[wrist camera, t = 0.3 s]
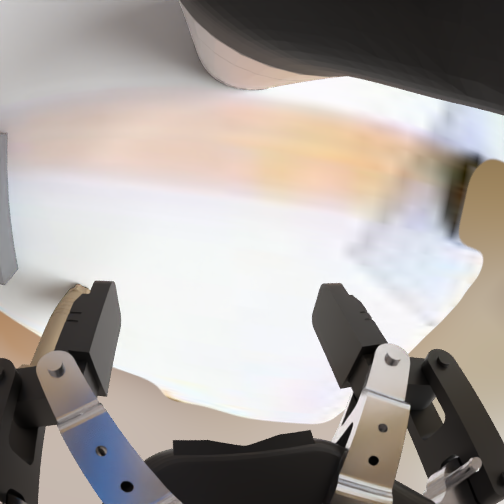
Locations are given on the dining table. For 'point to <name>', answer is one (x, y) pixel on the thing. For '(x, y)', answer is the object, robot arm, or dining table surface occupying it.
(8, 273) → the tray
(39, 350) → the handle
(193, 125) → the dining table surface
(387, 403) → the robot arm
